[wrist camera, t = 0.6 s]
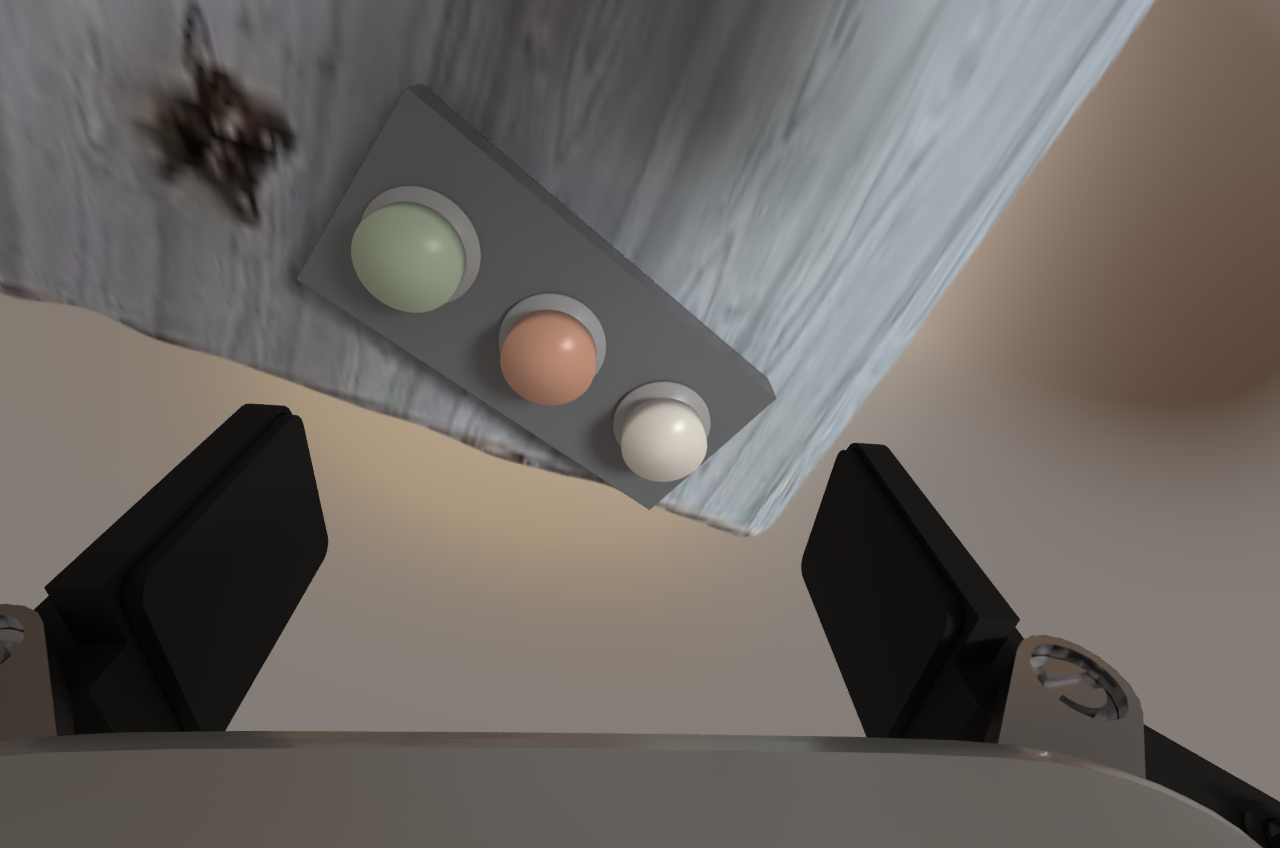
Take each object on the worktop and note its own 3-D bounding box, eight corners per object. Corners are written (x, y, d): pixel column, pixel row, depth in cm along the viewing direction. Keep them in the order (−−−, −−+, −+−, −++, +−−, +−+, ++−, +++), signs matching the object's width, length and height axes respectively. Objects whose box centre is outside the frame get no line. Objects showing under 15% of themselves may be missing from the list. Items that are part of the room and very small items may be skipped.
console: (422, 84, 34) (402, 87, 31) (767, 378, 45) (777, 401, 42) (317, 264, 39) (292, 281, 36) (648, 487, 50) (649, 514, 47)
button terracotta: (540, 290, 36) (536, 301, 34) (614, 347, 38) (614, 360, 37) (487, 357, 38) (481, 369, 37) (560, 407, 41) (557, 421, 39)
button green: (394, 178, 32) (383, 184, 31) (485, 248, 35) (479, 257, 33) (345, 259, 35) (332, 268, 33) (433, 320, 37) (425, 331, 35)
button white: (659, 382, 40) (661, 395, 38) (721, 429, 42) (724, 443, 40) (604, 437, 42) (603, 452, 41) (665, 479, 44) (666, 494, 43)
